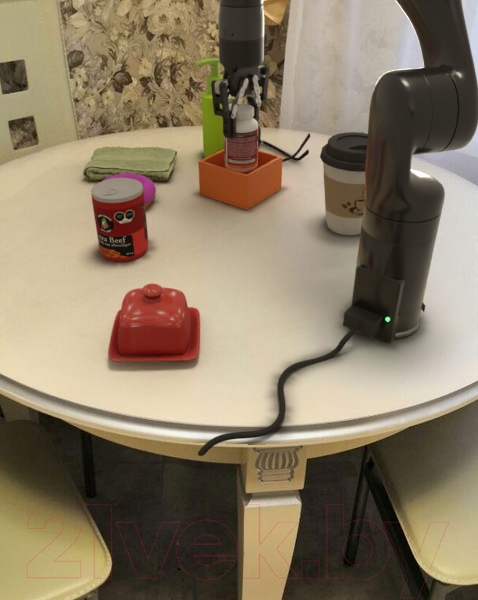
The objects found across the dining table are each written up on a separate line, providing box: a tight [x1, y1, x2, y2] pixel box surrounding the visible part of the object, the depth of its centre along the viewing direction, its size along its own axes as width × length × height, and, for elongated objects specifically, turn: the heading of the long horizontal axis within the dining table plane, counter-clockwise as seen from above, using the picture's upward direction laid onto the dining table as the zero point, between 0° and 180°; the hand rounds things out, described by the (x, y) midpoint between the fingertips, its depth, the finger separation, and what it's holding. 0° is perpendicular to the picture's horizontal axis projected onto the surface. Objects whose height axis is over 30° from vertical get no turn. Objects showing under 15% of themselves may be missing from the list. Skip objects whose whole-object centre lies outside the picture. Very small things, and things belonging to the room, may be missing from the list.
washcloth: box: [82, 146, 178, 182], centre depth 126 cm, size 13×18×3 cm
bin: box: [197, 149, 284, 211], centre depth 116 cm, size 11×11×7 cm
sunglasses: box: [258, 125, 311, 163], centre depth 129 cm, size 17×14×5 cm
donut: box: [102, 173, 157, 209], centre depth 113 cm, size 10×10×5 cm
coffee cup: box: [319, 131, 368, 236], centre depth 103 cm, size 11×11×15 cm
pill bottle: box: [224, 103, 259, 172], centre depth 112 cm, size 6×6×11 cm
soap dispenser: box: [194, 57, 231, 158], centre depth 127 cm, size 6×7×20 cm
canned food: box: [90, 178, 149, 263], centre depth 97 cm, size 8×8×11 cm
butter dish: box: [107, 282, 201, 363], centre depth 79 cm, size 12×12×8 cm
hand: (241, 131), depth 111 cm, fingers closed on pill bottle, 6 cm apart
